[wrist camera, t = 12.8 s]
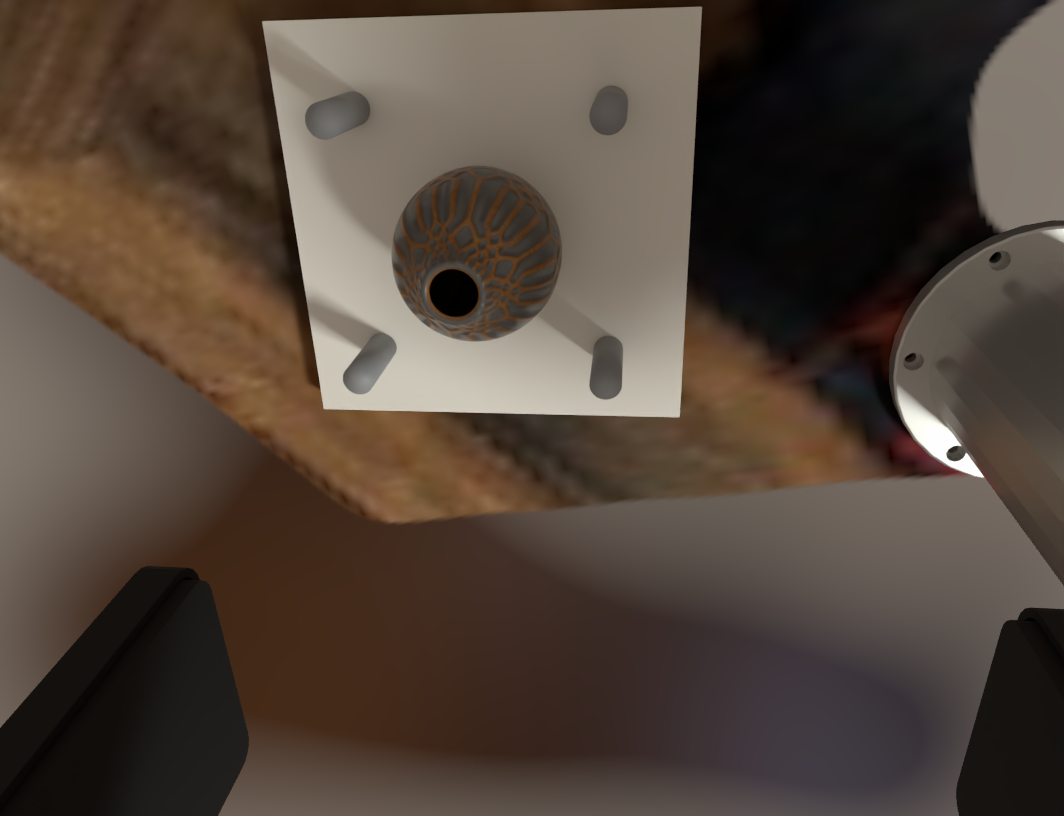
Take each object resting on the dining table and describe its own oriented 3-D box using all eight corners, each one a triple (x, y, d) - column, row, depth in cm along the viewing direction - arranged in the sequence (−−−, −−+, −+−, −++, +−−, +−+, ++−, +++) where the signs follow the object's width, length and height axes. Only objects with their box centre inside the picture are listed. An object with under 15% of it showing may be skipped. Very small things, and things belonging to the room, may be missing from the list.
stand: (699, 6, 33) (710, 7, 29) (678, 403, 41) (683, 457, 36) (276, 20, 35) (218, 23, 31) (333, 396, 43) (294, 446, 39)
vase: (590, 275, 37) (578, 348, 30) (454, 324, 39) (410, 405, 31) (532, 128, 35) (503, 165, 27) (390, 187, 37) (324, 238, 29)
